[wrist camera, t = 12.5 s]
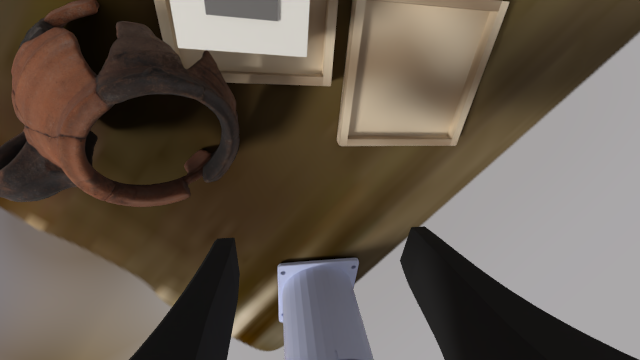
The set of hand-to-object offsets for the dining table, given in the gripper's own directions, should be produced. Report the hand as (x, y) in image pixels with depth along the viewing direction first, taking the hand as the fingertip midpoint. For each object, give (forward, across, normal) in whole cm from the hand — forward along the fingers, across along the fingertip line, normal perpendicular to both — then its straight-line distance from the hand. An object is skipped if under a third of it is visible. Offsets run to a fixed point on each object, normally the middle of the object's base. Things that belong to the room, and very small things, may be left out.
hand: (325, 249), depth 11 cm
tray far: (+10, -7, -5) cm, 13 cm away
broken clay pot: (+10, +10, -3) cm, 15 cm away
